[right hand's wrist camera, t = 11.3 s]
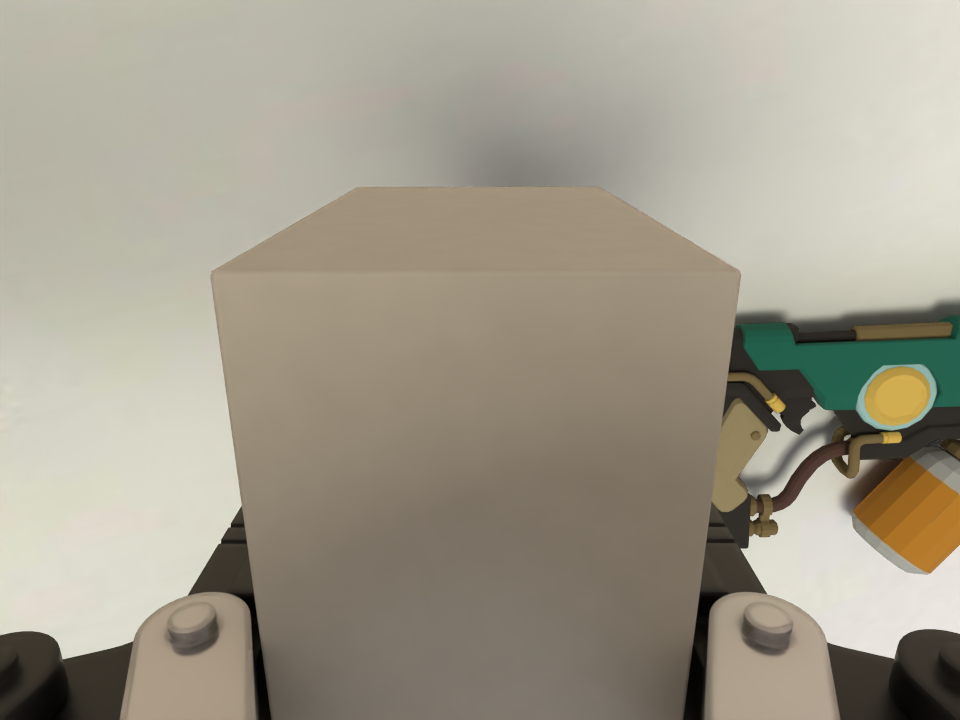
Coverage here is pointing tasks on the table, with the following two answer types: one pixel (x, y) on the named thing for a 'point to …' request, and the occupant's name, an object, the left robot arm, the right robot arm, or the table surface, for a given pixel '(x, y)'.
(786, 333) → the spray gun
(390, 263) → the bar
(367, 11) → the table surface
